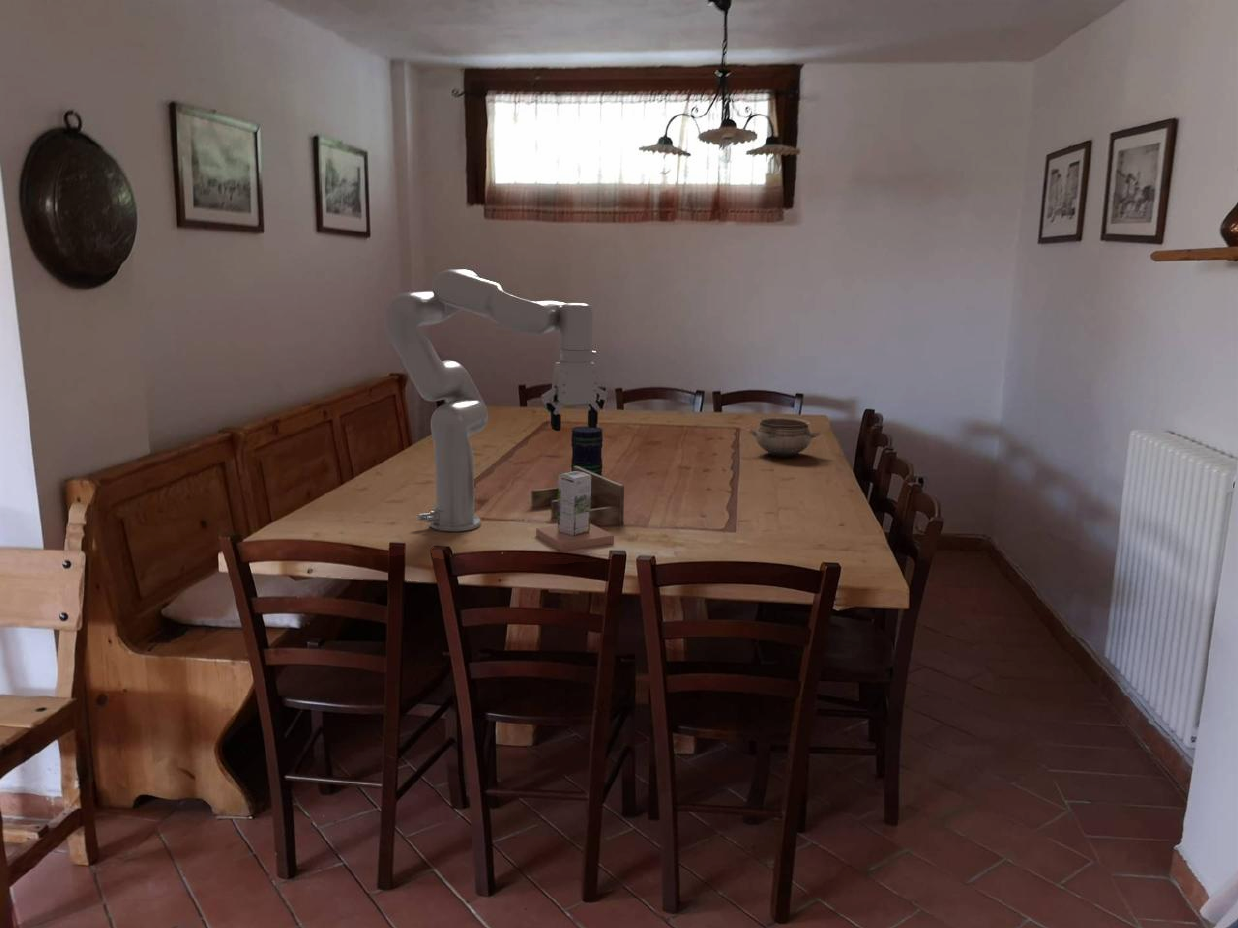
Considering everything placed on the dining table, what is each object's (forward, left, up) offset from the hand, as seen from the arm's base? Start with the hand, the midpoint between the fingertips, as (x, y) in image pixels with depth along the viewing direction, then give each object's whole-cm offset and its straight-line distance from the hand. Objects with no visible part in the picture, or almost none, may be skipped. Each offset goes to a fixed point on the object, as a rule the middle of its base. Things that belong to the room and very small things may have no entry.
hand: (574, 428), depth 223 cm
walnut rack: (+11, +20, -27) cm, 36 cm away
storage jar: (+35, +58, -28) cm, 73 cm away
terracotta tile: (0, 0, -28) cm, 28 cm away
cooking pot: (+112, +55, -28) cm, 127 cm away
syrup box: (0, 0, -26) cm, 26 cm away
